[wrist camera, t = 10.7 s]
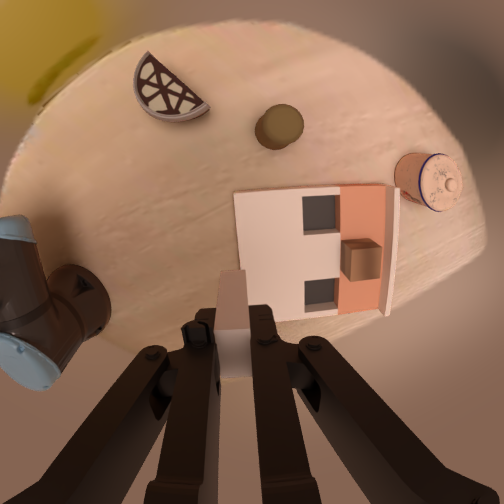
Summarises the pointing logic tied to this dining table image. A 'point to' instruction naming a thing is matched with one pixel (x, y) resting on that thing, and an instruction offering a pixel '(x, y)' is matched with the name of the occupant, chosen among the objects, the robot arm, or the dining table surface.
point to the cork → (279, 126)
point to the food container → (164, 92)
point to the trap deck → (315, 247)
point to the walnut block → (360, 259)
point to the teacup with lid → (429, 180)
